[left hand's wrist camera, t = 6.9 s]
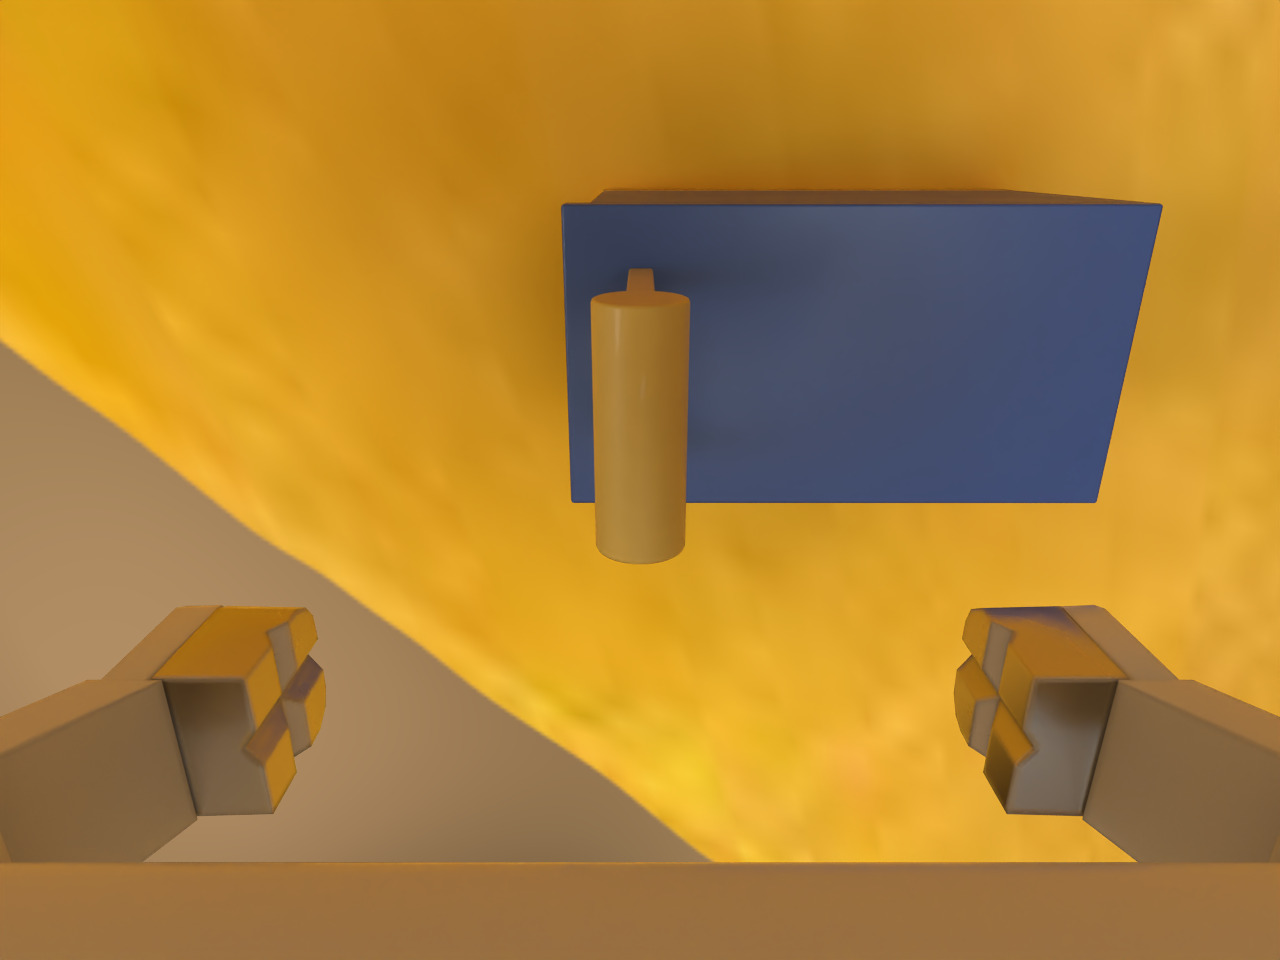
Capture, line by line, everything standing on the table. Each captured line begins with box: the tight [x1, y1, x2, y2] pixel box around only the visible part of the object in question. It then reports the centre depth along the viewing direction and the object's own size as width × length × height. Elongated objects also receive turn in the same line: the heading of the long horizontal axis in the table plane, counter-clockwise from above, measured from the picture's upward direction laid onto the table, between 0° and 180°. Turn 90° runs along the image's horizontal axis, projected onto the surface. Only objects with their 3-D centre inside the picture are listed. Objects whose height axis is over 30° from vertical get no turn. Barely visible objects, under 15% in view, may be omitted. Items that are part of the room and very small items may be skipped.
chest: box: [591, 189, 1144, 203], centre depth 30 cm, size 16×9×10 cm, turn 90°
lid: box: [561, 203, 1163, 564], centre depth 22 cm, size 17×9×8 cm, turn 90°
